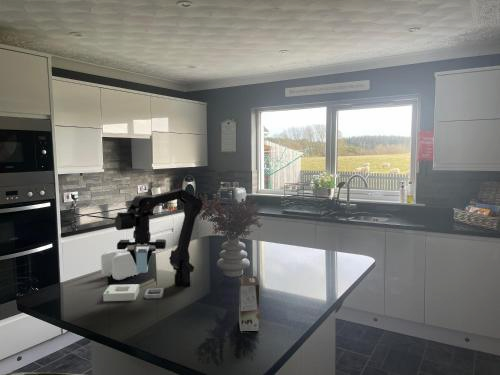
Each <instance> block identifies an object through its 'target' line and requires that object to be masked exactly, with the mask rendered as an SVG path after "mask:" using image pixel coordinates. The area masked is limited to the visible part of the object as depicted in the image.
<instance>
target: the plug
mask: <svg viewBox="0 0 500 375" xmlns="http://www.w3.org/2000/svg"><path fill="white" fill-rule="evenodd" d="M137 251H138V252H137V253H136V270H137V273H139V274H141V273H143V274H145V273H148V271H149V264H148V265H147V256H148V249H147V248H138V250H137Z"/></svg>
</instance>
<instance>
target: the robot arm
mask: <svg viewBox="0 0 500 375" xmlns="http://www.w3.org/2000/svg"><path fill="white" fill-rule="evenodd" d="M176 200H178V201H179V202H180V203H182V204H183V208H182V209H183V214H184V216H183V222H182V226H181V230H180V234H179V238H178V243H177V247H176V248H175V250H173V249H171V251H170V256H169V258H168V259H169V264H170V265H171V266H172V268H173V270H175V273H174V284H175V287H191V284H192V280H191V279H192V278H191V275H192V272H194V269H195V266H194V265H193V264H192V263H191V262H190V252H189V247H190V244H191V240H192V235H193V230H194V226H195V222H196V220H197V219H196V218H197V217H198V216H199V214H200V213H201V211H202V209H203V206H204V205H203V204H204V203H203V200H202V199H201V198H200V197H196V196H195V195H193V194H191V193H189V192H188V191H187V190H186V189H184V188H176V189H173V190H169V191H166V192H161V193H157V194H153V195H150V194H149V195H146V194H145V195H144V194H143V195H137V196H134V197H133V199H132V202H131V204H130V206H129V208H128V209H127V210H126V211H125V212H122V211H121V212H117V214H116V216H115V219H114V227H115V229H116V230H117V231H123V230H124V231H125V230H132V229H134V230H133V236H132V238H133V239H134V241H131V240H130V239H120V240H119V241H118V242H117V244H116V249H117V250H121V249H126V248H127V251H129V252H130V254H131V255H132V257H133V259H134V262H135V264H136V253H137V252H136V251H137V247H141V248H142V247H143V248H145V247H146V248H147V247H148V249H147V251H148V256H147V265H148V266H149V264H150V261H151V257H152V254H153V252H156V251H157V250H165V249H166V247H167V240H166V239H161V238H160V239H158V238H157V239H156V240H155V241H151V235H152V234H151V232H150V217H153V216H155V213H154V212H152V210H153V209H154V208H155V207H157V206H159V205H162V204H165V203H169V202H173V201H176Z"/></svg>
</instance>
